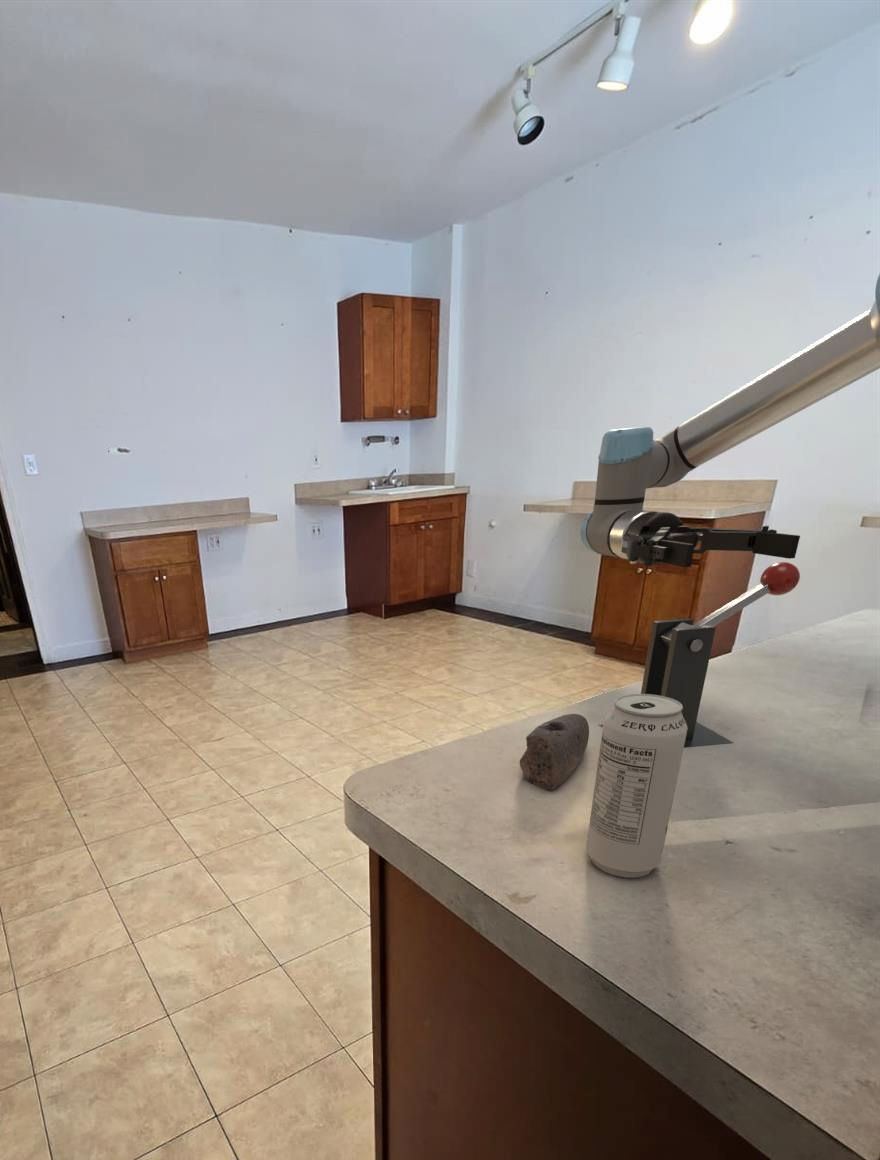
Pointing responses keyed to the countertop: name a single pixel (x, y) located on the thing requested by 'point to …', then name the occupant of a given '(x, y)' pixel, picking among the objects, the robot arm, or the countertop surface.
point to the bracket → (681, 673)
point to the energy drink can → (635, 783)
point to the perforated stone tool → (554, 750)
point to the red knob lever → (750, 595)
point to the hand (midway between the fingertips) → (742, 551)
